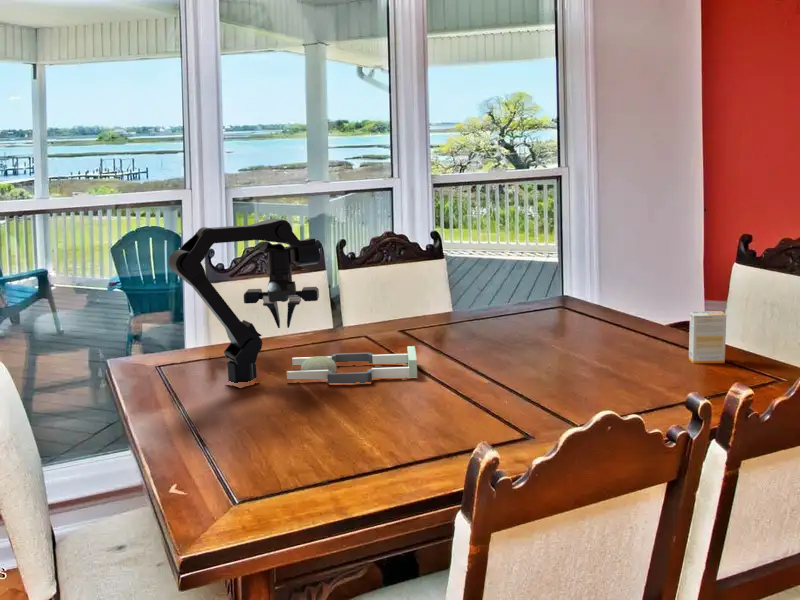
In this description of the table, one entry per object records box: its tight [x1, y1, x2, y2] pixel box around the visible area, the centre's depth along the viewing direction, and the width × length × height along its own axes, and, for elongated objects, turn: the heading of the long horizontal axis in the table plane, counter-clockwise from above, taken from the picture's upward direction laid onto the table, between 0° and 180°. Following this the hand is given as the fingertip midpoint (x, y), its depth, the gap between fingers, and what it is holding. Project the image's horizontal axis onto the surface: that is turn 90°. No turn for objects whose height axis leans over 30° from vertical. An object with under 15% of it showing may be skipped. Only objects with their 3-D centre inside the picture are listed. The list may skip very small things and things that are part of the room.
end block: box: [406, 345, 418, 378], centre depth 217 cm, size 2×14×5 cm, turn 1°
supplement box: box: [688, 310, 727, 364], centre depth 217 cm, size 8×5×13 cm, turn 84°
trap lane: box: [286, 351, 409, 384], centre depth 217 cm, size 31×20×3 cm, turn 91°
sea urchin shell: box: [300, 355, 338, 373], centre depth 217 cm, size 9×8×8 cm
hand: (283, 327), depth 215 cm, fingers open, 2 cm apart
